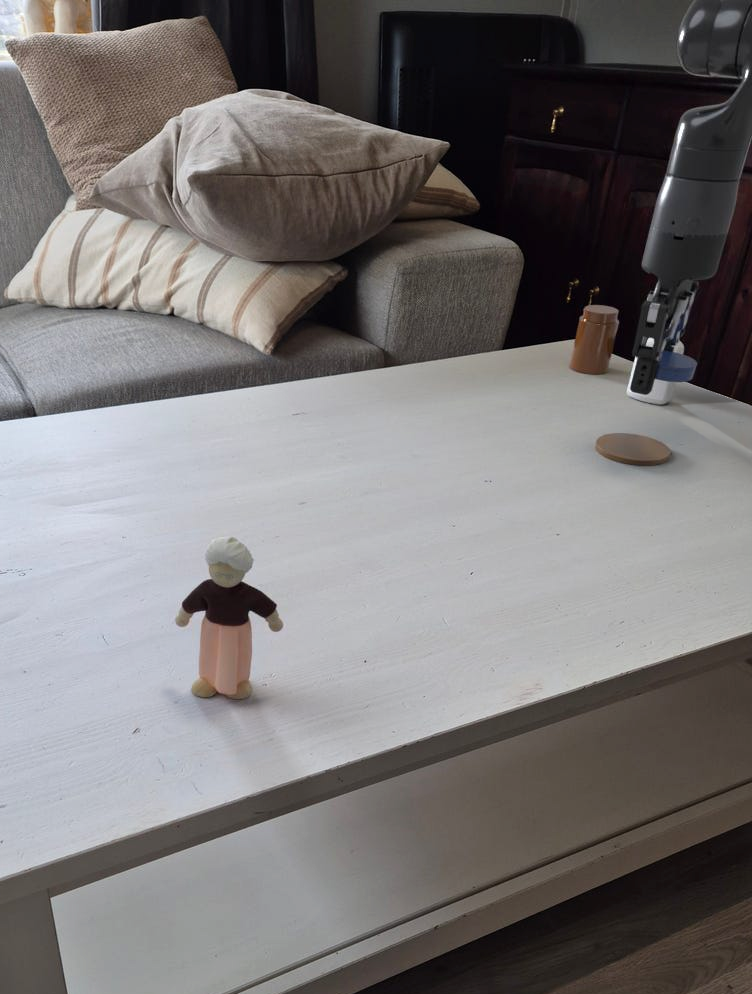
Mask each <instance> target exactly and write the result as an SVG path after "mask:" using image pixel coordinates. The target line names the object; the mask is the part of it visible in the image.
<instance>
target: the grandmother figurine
mask: <svg viewBox="0 0 752 994" xmlns="http://www.w3.org/2000/svg"><path fill="white" fill-rule="evenodd" d="M204 557H205V558H204V559H205V562H206V565H208V573H209V576H210V578H208V579H205V580H203V581H202V582H201V583H199V584H197V586H196V587H195V588H194V589H192V591H191V592H190V593H189V594H188V595H187V596H186V597H185V598H184V599H183V601H182V603H181V606H180V608H179V610H178V614H177V615H176V616H175V618H174V623H175V624H176V626H178V627H179V628H185V627H187V626H188V625H189V623H190V620H191V618H193V616H194V614H195V613H199V612H204V616H203V618H202V620H201V625H200V633H199V634H200V635H199V636H200V637H199V651H198V652H199V653H198V676H199V677H198V678H197V679H196V680H195V681H193V683H192V684H191V687H190V692H191V693H192V695H194V696H196V697H201V698H209V697H212V696H214V695H216V694H217V693H220V694H223V695H225V696H226V697H228V698H229V699H232V700H244V699H247V698H248V697H250V695H251V694H252V687H251V684H250V683H251V682H250V676H251V667H252V657H253V632H252V630H253V629H252V622H251V619H250V618H251V617H250V616H249V613H250V612H252V613H253V614H256V615H257V616H259V617H260V618H262V619H264V620H265V622H267V623H268V625H267V626H268V628H269V629H270V631H271V632H273V633H278V632H280V631H282V630H283V628H284V622H283V621H282V619H281V618H280V615H279V613H278V610H277V607H278V604H277V603H276V602H275V601H274V600H273V599H271V597H269V596H268V595H267V594H266V593H264V592H263V591H262V590H260V589H258V588H256V587H255V586H252V585H250V584H248V583H246V582H244V581H243V579H244V578H245V576H246V574H247V573H248V572H250V571H251V569H252V568H253V564H254V561H255V559H254V558H253V555H252V554H251V552H250V550H249V549H248V547H247V546H246V545H245V543H243V542H241V541H240V540H239V539H237V538H236V537H235V536H223V537H220V536H219V537H216V538H214V539H212V540H211V541H210V542H209V543H208V545H207V547H206V549H205V552H204Z"/></svg>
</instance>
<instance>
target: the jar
mask: <svg viewBox="0 0 752 994" xmlns="http://www.w3.org/2000/svg"><path fill="white" fill-rule="evenodd" d="M582 310H583V314H582V315H581V316H579V319H578V324H577V328H576V333H575V337H574V338H575V339H574V343H573V348H572V353H571V358H570V363H569V368H570V369H571V370H573V371H575V372H578V373H581V374H587V375H602V374H603V375H604V374H606V373H608V371H609V368H610V364H611V359H612V355H613V350H614V346H615V343H616V337H617V333H618V328H619V324H620V321H619V319H618V317H619V316H618V315H619V309H617V308H615V307H613V306H608V305H604V304H603V305H601V304H592V305H591V304H590V305H586V306H584V308H583V309H582Z"/></svg>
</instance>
